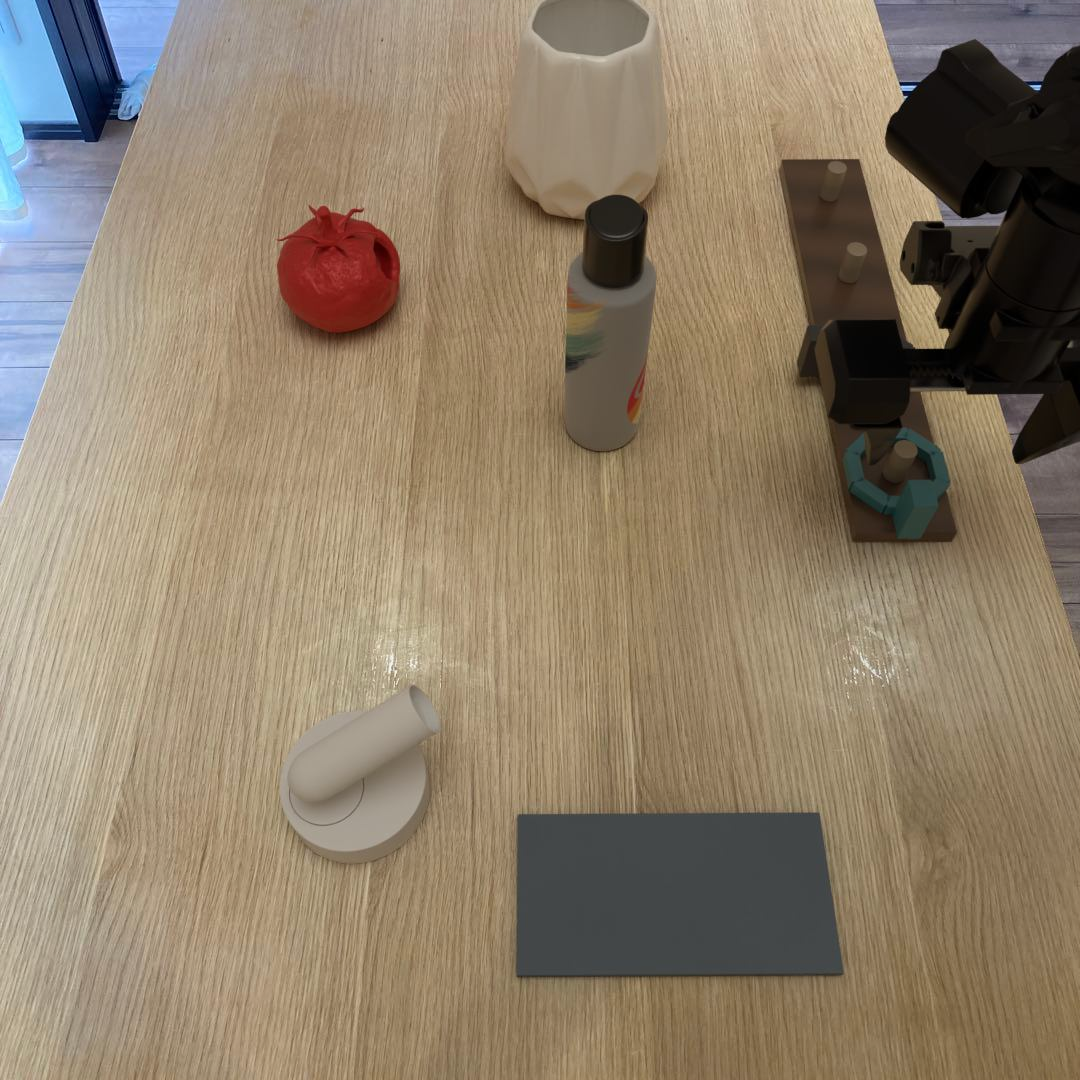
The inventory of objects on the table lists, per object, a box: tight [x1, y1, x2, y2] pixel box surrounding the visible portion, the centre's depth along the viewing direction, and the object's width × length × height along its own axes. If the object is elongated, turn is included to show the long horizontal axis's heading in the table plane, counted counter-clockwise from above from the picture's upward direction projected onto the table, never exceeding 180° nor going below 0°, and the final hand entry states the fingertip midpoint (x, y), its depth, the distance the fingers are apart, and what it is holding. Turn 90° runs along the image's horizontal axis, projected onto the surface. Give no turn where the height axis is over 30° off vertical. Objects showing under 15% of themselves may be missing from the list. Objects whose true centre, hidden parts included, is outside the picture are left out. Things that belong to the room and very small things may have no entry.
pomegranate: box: [275, 204, 401, 334], centre depth 81 cm, size 10×10×9 cm
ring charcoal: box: [796, 324, 916, 378], centre depth 78 cm, size 9×7×4 cm
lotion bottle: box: [563, 195, 657, 452], centre depth 70 cm, size 6×6×20 cm
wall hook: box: [279, 683, 442, 865], centre depth 59 cm, size 9×10×10 cm
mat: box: [516, 811, 845, 978], centre depth 59 cm, size 18×9×1 cm, turn 90°
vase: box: [504, 0, 670, 221], centre depth 87 cm, size 14×14×15 cm
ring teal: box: [842, 428, 951, 539], centre depth 72 cm, size 9×7×4 cm
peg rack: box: [779, 158, 958, 543], centre depth 81 cm, size 40×7×4 cm, turn 0°
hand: (943, 458), depth 65 cm, fingers open, 9 cm apart
